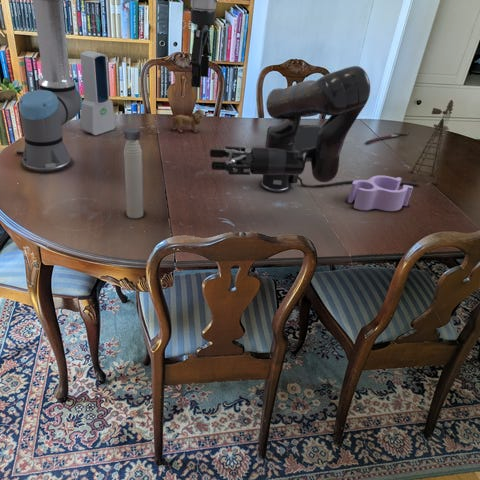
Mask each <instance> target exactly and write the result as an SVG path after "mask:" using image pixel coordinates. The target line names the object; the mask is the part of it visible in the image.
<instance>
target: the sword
mask: <svg viewBox="0 0 480 480" xmlns="http://www.w3.org/2000/svg"><path fill="white" fill-rule="evenodd" d="M402 133H403V132H400V133H397V132H395V133H393V134H389V135H384V136H381V137H375V138H373V139H369V140H367V141H366V142H365V145H368V144H371V143H374V142H377V141H381V140H385V139H389V138H394V137H400V136H403V135H404V136H405V134H402ZM409 134H410V132H408V134H407V135H409Z"/></svg>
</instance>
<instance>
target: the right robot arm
mask: <svg viewBox="0 0 480 480" xmlns="http://www.w3.org/2000/svg"><path fill="white" fill-rule="evenodd" d="M370 94H371V82H370V77H369V75H368V73H367V72H366V70H364V68H363V67H362V66H358V65H353V66H348V67H344V68H342V69H339V70H336V71H333V72H330V73H327V74H325V75H323V76H321V77H320V78H318V79H316V80H315V79H309V80H304V81H300V82H298V83H296V84H293V85H290V86H287V87H285V88H282V87H281V88H280V87H279V88H278V87H277V88H274V89H272V90H271V91H270V92H269V93H268V96H267V98H266V101H265V103H266V104H265V105H266V111H267V113H268V116H270V117H271V118H272V119H275V120H284V121H282V122H280V123H279V124H275V125H272V126H273V127H271V128H270V129H269V132H268V140H267V148H266V147H252V148H251V149H250V152H248V151H247V152H246V147H244V146H231V145H230V146H229V145H225V147H224V148H223V149H219V148H218V149H216V148H215V149H214V148H211V149H210V150H209V157H210V158H218V159H219V158H220V159H222V158H224V159H226V160H228V161H222V160H221V161H219V160H218V161H217V160H213V161H212V162H211V170H213V171H225V172H228V175H231V176H235V175H237V176H246V175H247V176H249V175H258V176H259V175H261V176H262V178H261V183H260V184H261V187H262V188H263V189H264V190H267V191H269V192H273V193H283V192H286V191H288V189H290V188H291V187H292V185H294V184H298V180H299V182H300V185H301V186H302V187H304V188H320V187H329V186H336V185H344V184H352V183H353V181H354V180H346V181H337V182H333V183H329V182H331V181H333V180H334V179H335V178H336V176H337V174H338V172H339V166H340V154H341V151H342V149H343V146H344V144H345V140H346V137H347V135H348V133H349V132H350V130H351V128H352V126H353V125H354V123H355V121H357V118H358V117H359V116H360V114H361V112H362V111H363V110H364V108H365V106H366V104H367V102H368V100H369V98H370V96H371V95H370ZM318 115H324V116H329V118H328V119H326V121H325V122H324V123H323V124H322V126H321V127H320V128H321V129H320V131H319V134H318V138H317V142H316V146H315V147H311V148H307V149H302V150H294V149H295V143H296V137H297V134H298V130H299V125H301V119H302V118H307V117H309V118H310V117H314V116H318ZM309 162H310V166H311V174H312V177H313V179H314V180H316V182H319V183H322V184H315V185H307V184H304V182H303V179H302V178H301V177H299V176H300V175H302V174H303V173H304V171H305V168H306V163H309ZM323 183H324V184H323ZM325 183H327V184H325ZM400 185H402V186H403V185H409V186H413V187H414V186H415V187H417V186H418V185H419V183H414V182H413V183H412V182H411V183H410V182H402V181H401V182H400Z"/></svg>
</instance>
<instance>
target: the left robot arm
mask: <svg viewBox="0 0 480 480" xmlns="http://www.w3.org/2000/svg"><path fill="white" fill-rule="evenodd" d="M218 2H219V0H190V7H191V10H190V19H189V20H190V23H191V24H193V25H196V29H194V30H193V40H192V49H191V55H190V56H191V57H190V61H189V63H188V64H189V66H191V83H190V84H191V85H190V87H192V88H201V78H209V67H210V57H212V54H213V52H212V51H211V26H214V25H215V24H216V11H215V10H216V8H217V3H218ZM32 5H33V12H34V13H33V14H34V19H35V27H36V34H37V41H38V49H39V58H40V64H41V73H42V78H41V79H40V80H39V82H38V87H39V89H37V90H36V89H35V90H33V91H28V92H25V93H24V94H22V95H21V96H20V98H19V100H18V105H19V106H18V111H19V114H20V119H21V126H22V132H23V136H24V148H23V151H16V152H15V153H16V155H22V158H21V159H22V160H21V161H22V166H23V168H24V169H25V170H27V171H29V172H33V173H39V174H46V173H56V172H61V171H63V170H66V169H67V168H69V167H70V166H71V163H72V159H71V155H70V153H69V151H68V150H67V149H68V148H67V147H66V145H65V143H64V140H63V132H62V126H64V125H65V124H67V123H68V122H70V121H71V120H73V119H74V118H76V117H77V116H78V114H79V113H81V107H82V101H83V98H82V93H80V91H79V90H78V89H77V86H76V81H75V80H74V79H72V78H71V73H70V64H69V55H68V45H67V44H68V43H67V36H66V35H67V34H66V33H67V32H66V24H65V16H64V15H65V14H64V5H63V0H32Z"/></svg>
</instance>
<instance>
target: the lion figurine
mask: <svg viewBox="0 0 480 480" xmlns="http://www.w3.org/2000/svg"><path fill="white" fill-rule="evenodd" d="M204 116H205V112H204V110H202V109H199V108H198V109H196V110H195V111H194V112H193V113H191V114H190V115H183V114H178V115H175V117H174V118H173V119H172V124H171V127H170V128H169V131H172V130H176V129H177V130H178V132H179V133H183V130H182V129H181V127H182V124H184V125H186V126H190V129H191V131H193V133H197V132H198V131H197V130H196V129H197V125H200V124H201V123H202V122H203V120H204V118H205V117H204ZM176 126H177V128H176Z"/></svg>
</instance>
